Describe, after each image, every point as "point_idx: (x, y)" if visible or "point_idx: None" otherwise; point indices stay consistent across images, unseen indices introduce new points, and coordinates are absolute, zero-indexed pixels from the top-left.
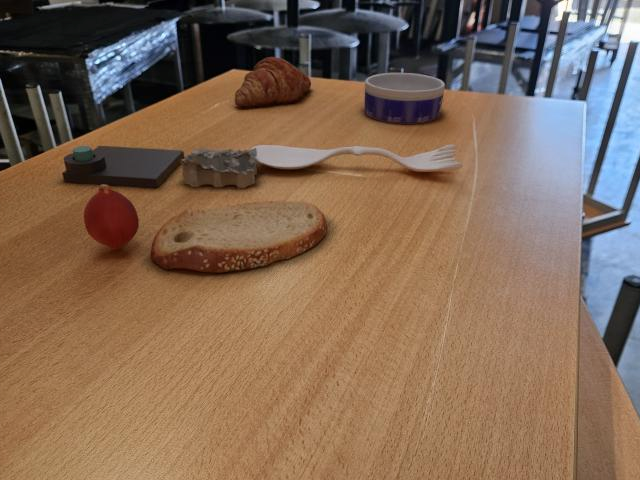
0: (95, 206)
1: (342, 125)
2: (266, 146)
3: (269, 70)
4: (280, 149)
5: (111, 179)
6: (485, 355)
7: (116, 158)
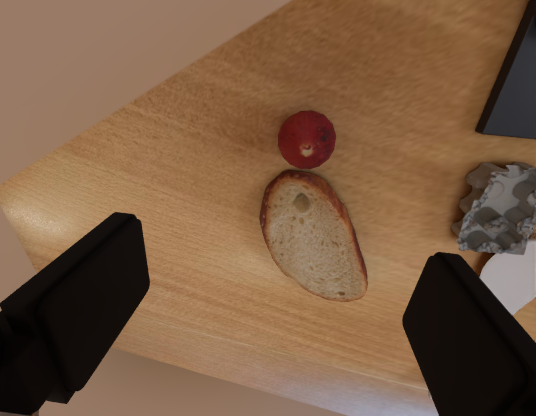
0: (288, 139)
1: None
2: None
3: None
4: None
5: (509, 61)
6: (198, 347)
7: None
